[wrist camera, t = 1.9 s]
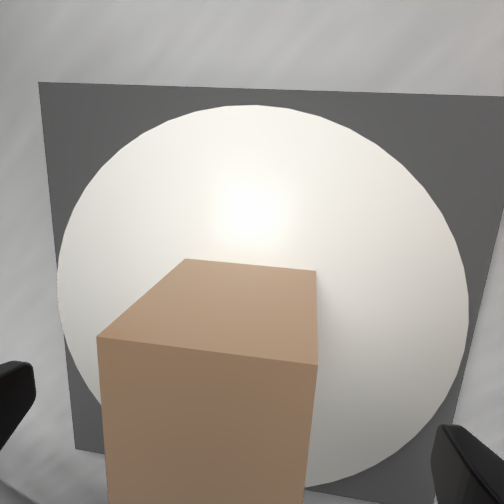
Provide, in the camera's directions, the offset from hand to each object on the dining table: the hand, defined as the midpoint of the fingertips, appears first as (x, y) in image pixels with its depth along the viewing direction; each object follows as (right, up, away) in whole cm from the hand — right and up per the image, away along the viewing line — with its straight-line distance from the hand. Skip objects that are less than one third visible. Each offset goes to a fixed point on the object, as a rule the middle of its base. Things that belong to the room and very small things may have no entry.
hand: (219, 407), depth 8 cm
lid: (+1, +1, +4) cm, 5 cm away
